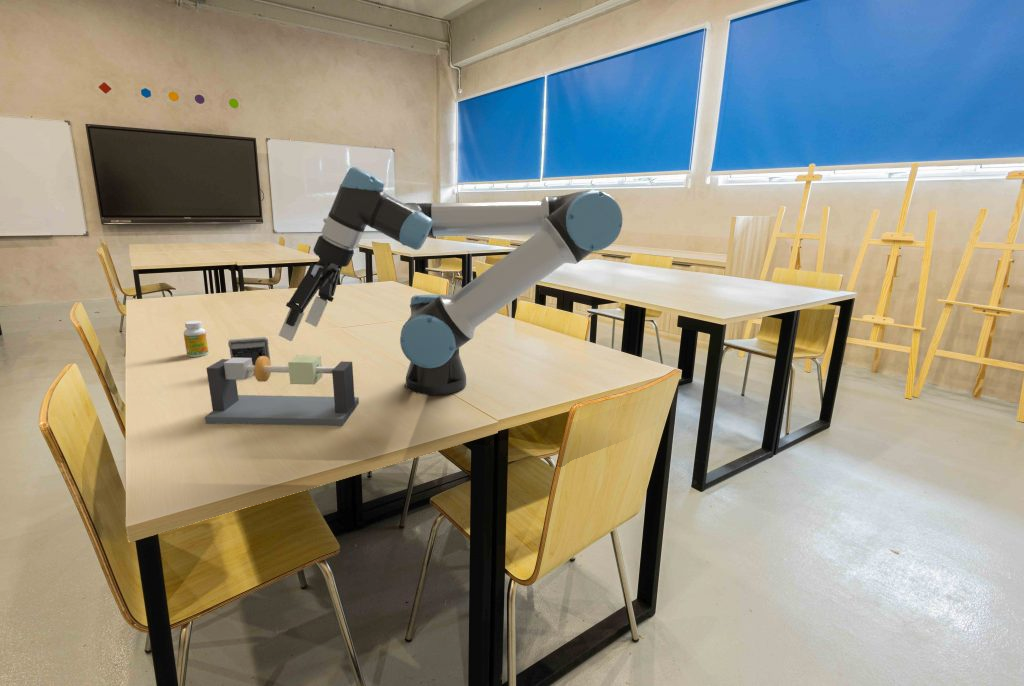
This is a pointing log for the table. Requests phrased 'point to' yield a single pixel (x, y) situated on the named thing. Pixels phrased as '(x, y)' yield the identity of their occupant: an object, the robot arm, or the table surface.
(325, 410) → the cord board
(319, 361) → the pale green sliding cube
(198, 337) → the supplement bottle
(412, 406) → the table surface
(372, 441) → the table surface
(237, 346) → the electrical switch
